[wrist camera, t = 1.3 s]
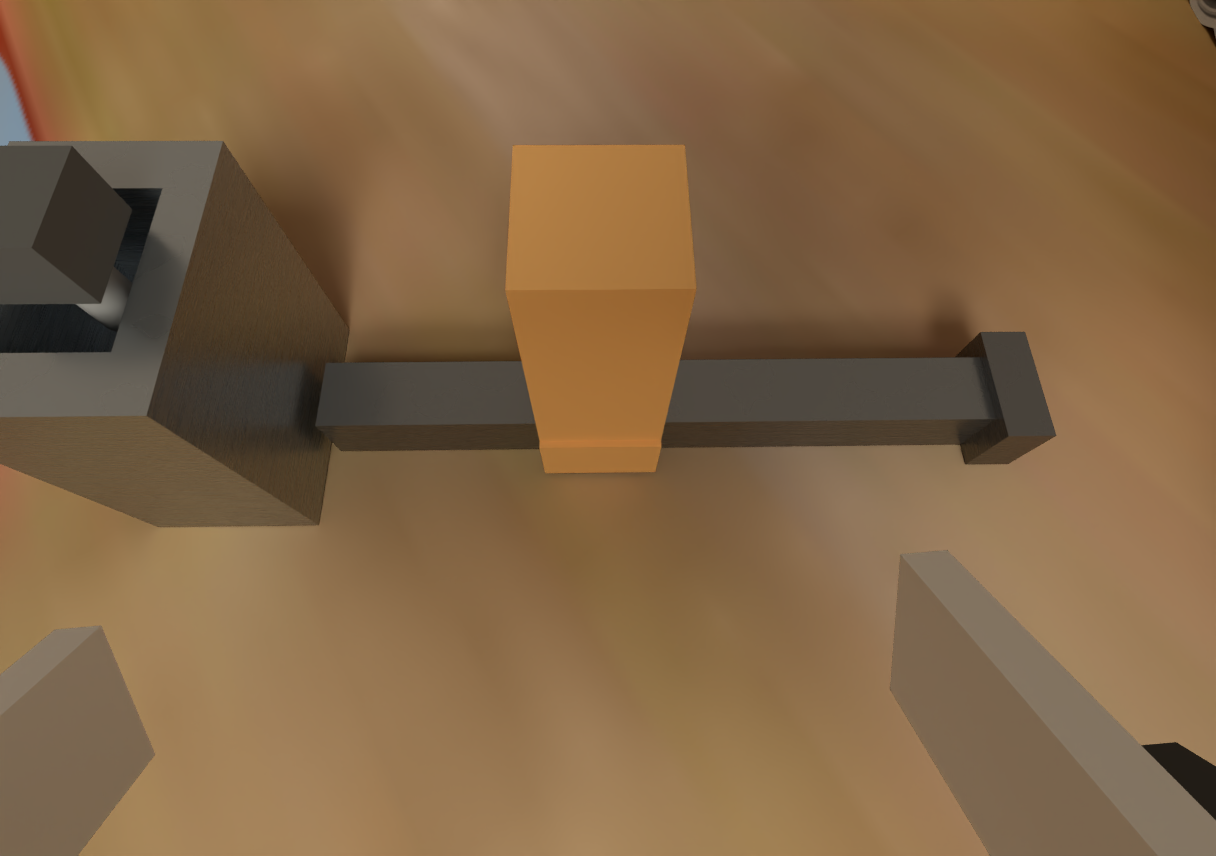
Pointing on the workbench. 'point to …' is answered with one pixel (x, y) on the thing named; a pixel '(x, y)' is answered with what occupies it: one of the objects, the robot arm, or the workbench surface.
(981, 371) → the guide rail
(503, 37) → the workbench surface
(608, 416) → the carriage
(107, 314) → the button
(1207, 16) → the decorative sign
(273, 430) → the cabinet
